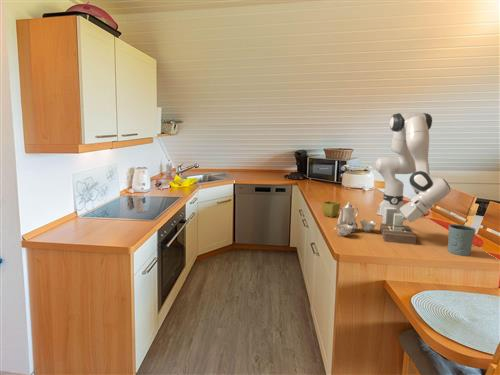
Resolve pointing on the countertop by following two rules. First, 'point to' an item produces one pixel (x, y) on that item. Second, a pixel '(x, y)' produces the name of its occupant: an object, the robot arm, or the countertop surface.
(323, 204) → the flower pot
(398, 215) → the sage peg
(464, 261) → the countertop surface
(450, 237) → the blue-grey embossed planter
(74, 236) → the countertop surface
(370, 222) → the chinaware
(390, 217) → the skincare box
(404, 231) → the socket board
